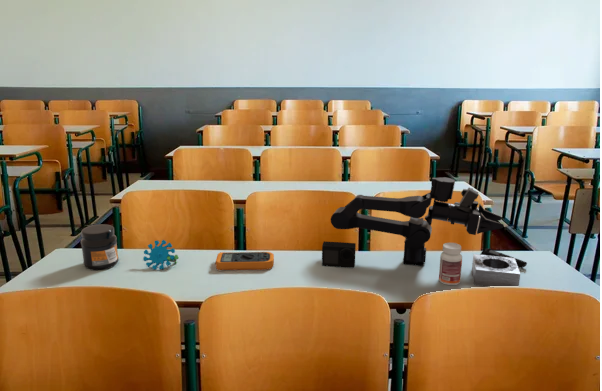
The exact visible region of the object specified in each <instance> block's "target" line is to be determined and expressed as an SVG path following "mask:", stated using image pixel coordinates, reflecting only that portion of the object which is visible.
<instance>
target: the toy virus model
mask: <svg viewBox="0 0 602 391" xmlns="http://www.w3.org/2000/svg"><path fill="white" fill-rule="evenodd" d="M147 247H148V248H149V249H150V252H149V251H148V249H144V251H143V254H144V255H148V256H149V257H147V256H143V258H142V261H144V262H146V263H145V265H146V267H147V268H150V267H151V269H152V270H154V271H156V270H157V269H158V268H159V270H164V269H165V266H164V264H166V266H167V267H168V266H169V267H170V266H171V262H172V263H174V264H177V263H178V261H177V260H178V259H179V255H178V254H175V252H176V249H175V248H174V247H173V244H172V243H171V242H168V243H167V241H166V240H165V239H162V240H161V243H160V241H159V240H154V248H153V243H149V244H148V245H147ZM170 252H171V253H172V254H170ZM174 254H175V255H174ZM147 261H148V262H147ZM153 264H154V265H153ZM158 266H159V267H158Z"/></svg>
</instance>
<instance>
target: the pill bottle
mask: <svg viewBox="0 0 602 391" xmlns="http://www.w3.org/2000/svg"><path fill="white" fill-rule="evenodd" d="M439 258H440V259H439V269H438V270H439V273H438V281H439V282H440V283H441V284H444V285H446V286H447V285H448V286H456V285H459V284H460V282H461V277H462V268H463V266H462V265H463V255H462V246H461V244H460V243H459V244H458V243H457V242H445V243H443V245H442V252H441V254H440V257H439Z"/></svg>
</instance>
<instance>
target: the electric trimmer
mask: <svg viewBox="0 0 602 391" xmlns="http://www.w3.org/2000/svg"><path fill="white" fill-rule="evenodd" d="M479 255H488V256H498V257H509V258H515V260H516V263H517V266H518V269H523V268H525V267H526V266H527V264H528V262H527V261H524V260H522V259H519V258H516V257H514V256H510V255H509V254H505V253H502V252H498V251H496V250H494V249H492V248H491V247H489V248H488V247H487V248H484V249H483V250H482V251H481V253H480V254H479Z"/></svg>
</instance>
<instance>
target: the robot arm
mask: <svg viewBox="0 0 602 391" xmlns="http://www.w3.org/2000/svg"><path fill="white" fill-rule="evenodd" d="M455 182H456V180H455V179H453V178H450V177H445V176H444V177H432V178H431V187H430V192H427V193H425V194H423V195H411V196H405V197H399V198H398V197H396V198H395V197H384V196H374V195H373V196H372V195H371V196H370V195H363V194H357V195H356V196H355V197H354V198H353V199H352V200H351V201H349V202H348V203H347V204H346V205H345V206H340V207H338V208H337V209H336V210H335V211H334V212H333V213H332V214H331V217H330V223H331V225H332V227H333V228H334V229H337V230H352V229H353V230H354V229H362V230H363V229H364V230H370V231H374V232H380V233H387V234H392V235H398V236H402V237H404V238H405V239H404V249H403V258H402V259H403V260H402V265H409V266H417V267H419V266H420V267H424V264H425V263H426V260H427V259H426V257H427V247H425V246H426V243H427V242H428V241H429V240H430V238H431V237H432V236H431V235H432V231H433V230H432V223H433V220H436V221H437V220H438V221H443V222H447V223H450V224H451V225H455V224H457V225H458V224H459V225H463V227H466V228H465V229H466V232H467V233H468V234H469V235H473V236H476V235H479V234H483V233H486V232H491V231H495V230H501V229H503V228H504V224H503V223H501V222H499V221H501V220H502V216H501V215H498V214H496V213H494V212H491V211H489V210H487V209H485V208H484V207H483V205H482V204H481V203H479V201H477V199H478V197H479V192H478V191H477V190H475V189H474V188H471V187H468V188H467V189H466V188H463V189H462V190H461V193H460V195H461V196H462V197H461V199H460V201H459V202H458V201H455V202H454V203H449V202H448V201H449V200H451V199H453V193H454V189H455V184H456V183H455ZM432 200H433V204H432ZM431 204H432V205H431ZM427 209H428V213H427ZM360 210H367V211H368V210H369V211H378V212H379V211H380V212H381V211H382V212H393V213H398V214H401V215H403V216H405V217H409V220H406V221H405V220H404V221H403V220H397V219H396V220H395V219H390V218H383V217H378V216H372V215H367V214H361V213H360V212H359V211H360ZM426 213H427V215H425V214H426ZM424 215H425V216H424Z"/></svg>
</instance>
